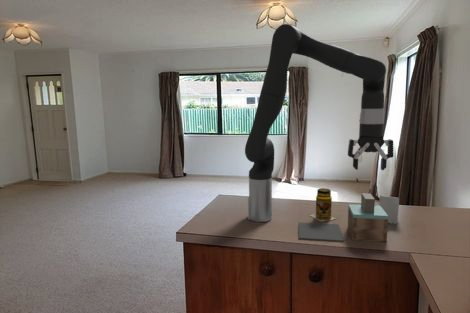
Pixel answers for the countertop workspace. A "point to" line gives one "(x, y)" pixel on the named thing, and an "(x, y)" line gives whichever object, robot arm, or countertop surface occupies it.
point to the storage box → (367, 228)
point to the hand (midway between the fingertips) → (369, 169)
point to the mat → (320, 231)
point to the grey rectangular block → (390, 208)
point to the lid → (367, 208)
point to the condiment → (323, 205)
